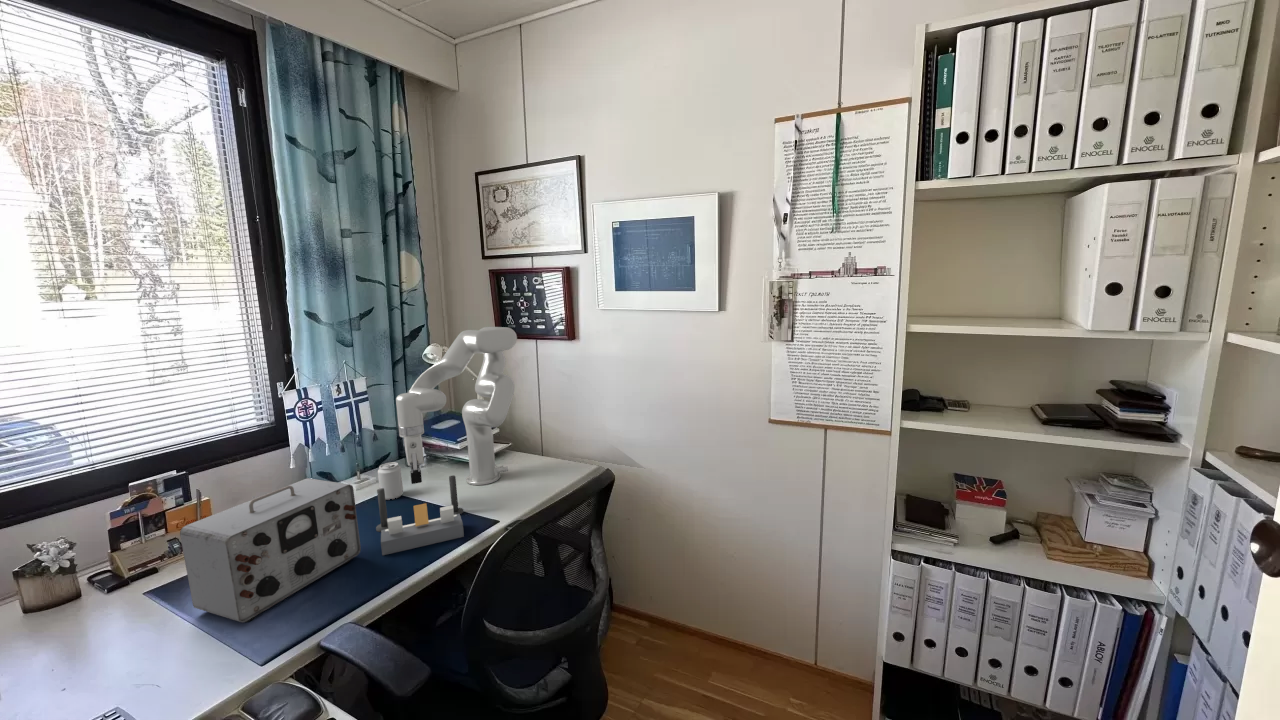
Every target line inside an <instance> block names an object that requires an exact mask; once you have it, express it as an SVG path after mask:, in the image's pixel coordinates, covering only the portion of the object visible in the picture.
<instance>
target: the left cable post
mask: <svg viewBox="0 0 1280 720" xmlns="http://www.w3.org/2000/svg"><path fill="white" fill-rule="evenodd" d="M376 493H377V494H376V495H377V501H378V502H377V503H378V509H379V518H380V524H377V525H376V527H375V531H376V532H378V533H381V530H385V529H388V523H387V519H388V510H387V509H388V508H387V502H386V500H385V491H384V488H381V489H380V488H378V489H377V490H376Z"/></svg>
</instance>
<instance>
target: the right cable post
mask: <svg viewBox="0 0 1280 720" xmlns="http://www.w3.org/2000/svg"><path fill="white" fill-rule="evenodd" d="M456 477H457V476H456V475H449V476H448V479H449V480H448V481H449V492H450V493H449V494H450V501H451V506H452V505H453V510H454V515H455V514H461V515H463V514H464V508H463V507H459V502H458V501H459V500H458V492H457V490H458V489H457V488H458V487H457V478H456ZM462 513H463V514H462Z"/></svg>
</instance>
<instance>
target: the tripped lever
mask: <svg viewBox="0 0 1280 720" xmlns="http://www.w3.org/2000/svg"><path fill="white" fill-rule="evenodd" d="M413 513H414V523H415V526H416V527H417V526H421V525H426V524H429V522H428V520H429V515H428V506H427V502H425V503H421V504H416V505H413Z"/></svg>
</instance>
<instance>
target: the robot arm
mask: <svg viewBox="0 0 1280 720" xmlns="http://www.w3.org/2000/svg"><path fill="white" fill-rule="evenodd" d="M517 341H518V336H517V333H516V332H515V330H514V329H512V328H511V327H506V326H505V327H504V326H503V327H502V326H484V327H481V328H480V329H479V330H478V329H466V330H462V331H461V332H459V334H458V335H457V336H456V338H454V340H453V342H452V343H451V345H450V346H449V348H448V349H447V351H446V352H445V353H444V355H443V356H442V357H441V359H440V360H439V361H438V362H437V361H436V363H435V364H433V365H431V366H430V367H429V368H427V369H426V370H425V371H424V372H422V373H421V374H420V375H419V376H418V377H417V379H416V380H415V381H414V382H413V384H412V386H411V387H410V389H409V391H408V392H403V393H400V394H399V395H397V396H396V398H395V403H396V414H397V424H398V434H399V437H400V438H403V441H404V442H403V443H404V450H405V451H404V452H405V456H406V461H407V466H409V467H410V471H409V473H410V480H411V481H410V483H411V485H415V484H420V483H422V482H423V479H422V469H420V467H421V466H420V464H421V465H424V463H425V459H424V457H425V456H424V448H423V446H424V445H423V440H422V439H423V438H422V435H423V434H425V429H424V427H425V426H424V416H423V413H430V412H437V411H440V410H442V409H443V408H444V407H445V405H446V403H447V396H446V394H445V393H444V392H443V391H442V390H440V389H435V388H436V387H437V386H438V385H439V384H441V383H443V382H444V381H446V380H450V379H452V378H454V377H457V376H459V375H462V373H463V372H464V371H465V369H466V368H467V366H468V365H469V363H470V362H471V360H472V358H473V357H474V356H475V354H483V361H482V364H481V367H480V370H479V373H478V374H477V375H478V376H477V379H476V381H475V384H474V391H475V393H476V394H477V395H478V396H480V397H484V398H489V400H487V399H479V398H473V399H470V400H468V401H466V402H465V403H464V405H463V407H462V409H461V414H462V415H461V416H462V420H463V424H464V426H465V432H466V441H467V442H466V443H467V453H468V464H469V465H468V466H469V475H467V477H466V478H465V479H466V483H467V484H469V485H472V486H485V485H489V484H492V483H495V482H497V481H498V480H499V479H500V478H501V473H502V472H503V473H506V472H509V468H508V466H504V465H499V466H497V465H496V461H495V459H496V458H495V457H496V456H495V447H494V446H495V445H494V433H493V429H492V428H498V427H500V426H501V425H502V424H503V423H504V422H505V420H506V418H507V416H508V412H509V409H510V407H511V403H512V400H513V397H514V393H515V382H514V380H513V378H512V377H511V376H510V375H508V374H504V371H505V367H506V362H507V361H506V357H505V353H504V351H508V350H511V349H512V348H514V346H516V344H517Z"/></svg>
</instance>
